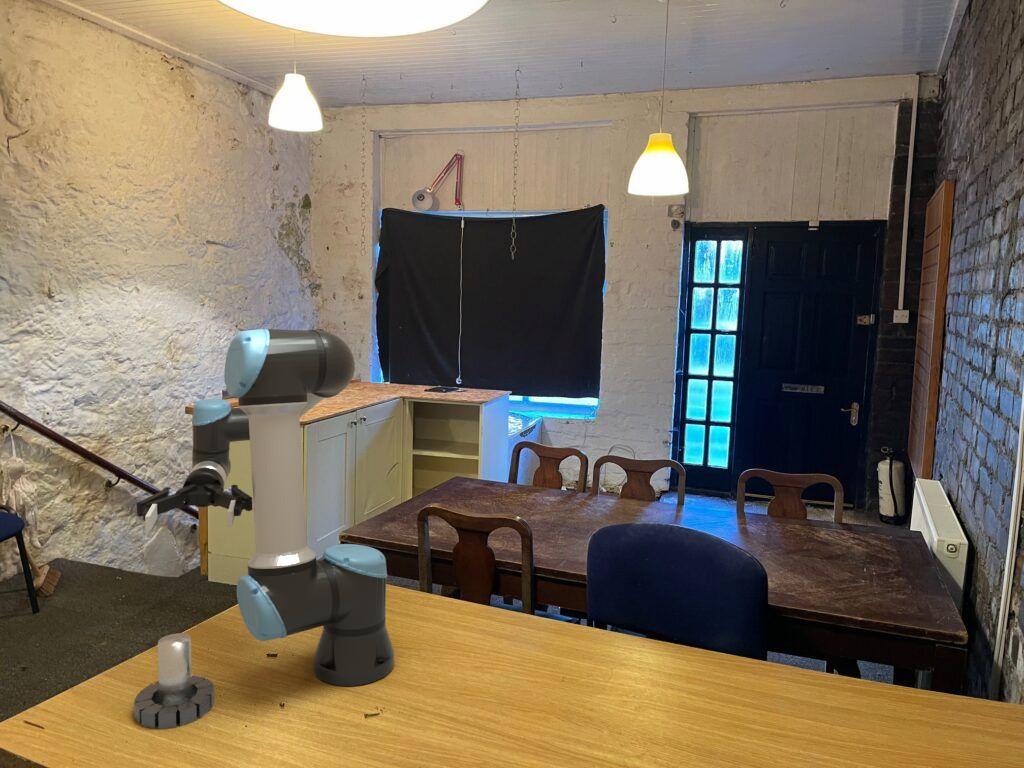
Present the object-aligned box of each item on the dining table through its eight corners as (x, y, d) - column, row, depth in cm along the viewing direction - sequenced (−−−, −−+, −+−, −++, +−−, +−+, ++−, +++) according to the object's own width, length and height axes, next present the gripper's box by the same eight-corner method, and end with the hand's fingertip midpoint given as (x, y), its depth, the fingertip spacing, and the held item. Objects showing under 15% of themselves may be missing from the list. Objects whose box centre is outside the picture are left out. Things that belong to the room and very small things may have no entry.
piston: (194, 698, 123) (193, 632, 122) (188, 714, 119) (187, 645, 117) (162, 701, 122) (161, 634, 121) (156, 717, 117) (154, 648, 116)
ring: (218, 685, 128) (218, 672, 127) (207, 723, 116) (207, 709, 116) (145, 692, 125) (144, 679, 124) (126, 732, 113) (126, 717, 113)
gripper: (268, 498, 152) (263, 536, 132) (139, 504, 145) (113, 545, 125) (268, 464, 150) (262, 498, 130) (137, 469, 143) (110, 505, 123)
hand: (189, 521), depth 127 cm, fingers open, 13 cm apart
